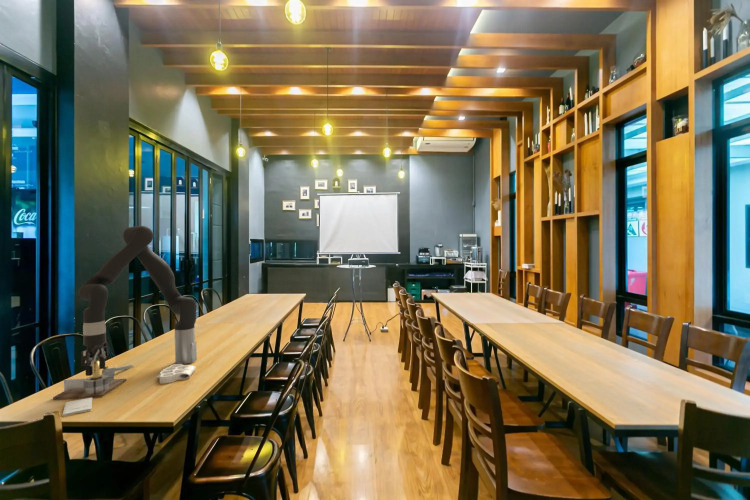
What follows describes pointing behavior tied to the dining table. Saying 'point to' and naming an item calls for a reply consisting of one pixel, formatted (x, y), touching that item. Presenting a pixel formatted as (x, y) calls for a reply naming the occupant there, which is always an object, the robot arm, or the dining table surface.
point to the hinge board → (81, 394)
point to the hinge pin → (96, 370)
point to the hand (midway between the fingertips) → (95, 371)
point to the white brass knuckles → (175, 373)
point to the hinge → (89, 384)
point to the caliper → (116, 368)
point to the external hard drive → (77, 406)
